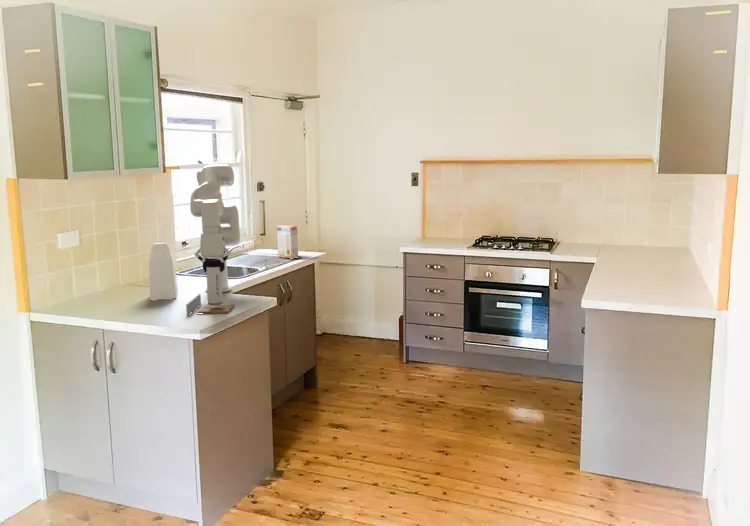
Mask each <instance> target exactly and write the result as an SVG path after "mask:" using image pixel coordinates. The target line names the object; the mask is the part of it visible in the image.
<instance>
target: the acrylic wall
mask: <svg viewBox="0 0 750 526" xmlns="http://www.w3.org/2000/svg"><path fill="white" fill-rule="evenodd" d="M201 296H202V295H201V293H198V294H197V295H196V296H195V297H194V298H192V299H191V300H189V301H188V302H186V304H185V307H186V316H187V315H189V314H190V313H191V312H193V311H194V310H195V309H196V308H197V307H198V306H199V307H201V306H202V300H201V299H202V297H201ZM199 307H198V308H199ZM198 308H197V309H198ZM197 309H196V310H197ZM196 310H195V311H196ZM195 311H194V312H195ZM194 312H193V313H194ZM191 314H192V313H191ZM191 314H190V315H191ZM190 315H189V316H190Z"/></svg>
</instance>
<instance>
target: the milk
mask: <svg viewBox="0 0 750 526" xmlns="http://www.w3.org/2000/svg"><path fill="white" fill-rule="evenodd" d="M170 248H171V247H170V246H169V244H168V243H167V242H158V243H153V244H152V248H151V251H150V256H149V259H148V260H149V261H148V274H149V301H150V300H152V301H158V300H157V299H167V300H174V299H173V298H177V299H178V295H177V294H178V293H179V292H178V285H177V284H178V283H177V276H176V267H175V259H174V255H173V252H172V250H171V249H170Z"/></svg>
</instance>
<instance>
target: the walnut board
mask: <svg viewBox="0 0 750 526" xmlns="http://www.w3.org/2000/svg"><path fill="white" fill-rule="evenodd" d="M234 306H235V304H234V303H231V304H230V303H229V304H221V305H208V304H205V305H204V306H202V307H201V308H200V309H199V310H198V311H197V314H198V313H203V314H202V315H217V314H218V315H224V314H225V315H226V314H227V315H228V314H229V313H230V312H231V311H232V310H233V309H234V308H235V307H234Z"/></svg>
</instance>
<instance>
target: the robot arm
mask: <svg viewBox="0 0 750 526" xmlns="http://www.w3.org/2000/svg"><path fill="white" fill-rule="evenodd" d="M196 180H197V183H198V187H197V188H195V189H194V191H193V192H192V193H191V196H190V202H189V203H190V205H189V207H190V208H189V209H190V213H191V215H192V216H193V217H195V218H201V226H202V227H201V228H202V229H201V230H202V233H200V241H199V242H200V245H199V249H197V251H196V252H195V253H194V256H195V257H196V258H197V259H198V260H199V261H201V263H202V270H203V271H204V273H207V270H206V265H207V264H206V261H205V259H206V258H208V259H219V260H221V263H220V271H221V274H222V293H225V292H230V291H231V290H232V286H230V285H229V279H228V277H229V276H228V264H227V259H228V258H229V257H231V255H232V252H231V251H230V250H229V249H228V248H227V247H231V246H234V247H235V246H237V245H239V244H240V242H241V241H240V240H241V232H240V215H239V210H238V207H237V206H236V205H235V204H231V203H230V204H229V203H227V204H225V203H224V202H223V195H222V192H221V187H231V186H233V185H234V182H235V173H234V169H233V167H232V166H231V165H229V164H208V165H206V166H203V167H202V169H200V170H198V171H197V172H196ZM222 225H229V226H222ZM204 289H205V292H206V293H207V287H206V288H204Z"/></svg>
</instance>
